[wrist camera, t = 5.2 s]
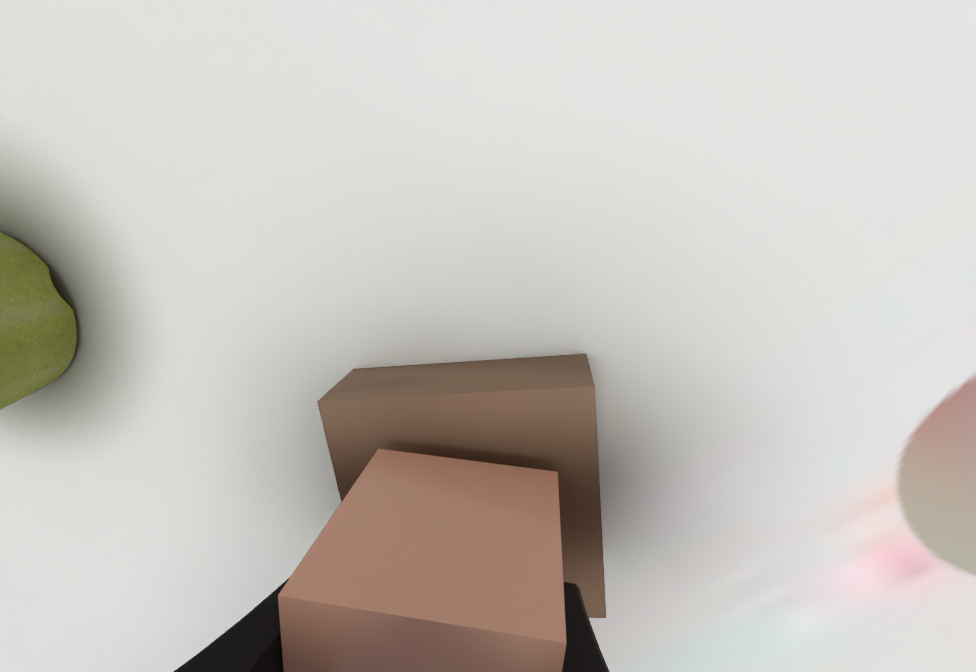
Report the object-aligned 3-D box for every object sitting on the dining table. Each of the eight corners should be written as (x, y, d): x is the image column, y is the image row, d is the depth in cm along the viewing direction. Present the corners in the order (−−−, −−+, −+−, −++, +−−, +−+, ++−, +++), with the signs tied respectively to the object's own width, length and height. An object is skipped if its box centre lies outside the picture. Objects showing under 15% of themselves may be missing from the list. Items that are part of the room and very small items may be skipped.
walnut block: (596, 548, 17) (606, 618, 14) (395, 548, 18) (368, 613, 16) (585, 350, 15) (594, 386, 12) (357, 365, 16) (317, 401, 13)
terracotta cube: (538, 616, 14) (535, 838, 9) (377, 590, 14) (292, 788, 9) (557, 471, 12) (566, 643, 7) (378, 448, 13) (277, 595, 8)
